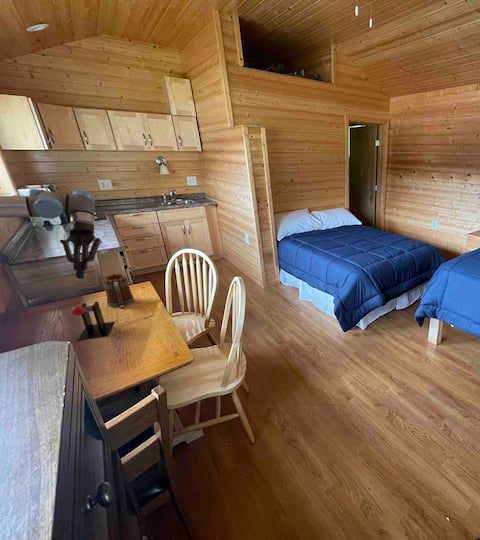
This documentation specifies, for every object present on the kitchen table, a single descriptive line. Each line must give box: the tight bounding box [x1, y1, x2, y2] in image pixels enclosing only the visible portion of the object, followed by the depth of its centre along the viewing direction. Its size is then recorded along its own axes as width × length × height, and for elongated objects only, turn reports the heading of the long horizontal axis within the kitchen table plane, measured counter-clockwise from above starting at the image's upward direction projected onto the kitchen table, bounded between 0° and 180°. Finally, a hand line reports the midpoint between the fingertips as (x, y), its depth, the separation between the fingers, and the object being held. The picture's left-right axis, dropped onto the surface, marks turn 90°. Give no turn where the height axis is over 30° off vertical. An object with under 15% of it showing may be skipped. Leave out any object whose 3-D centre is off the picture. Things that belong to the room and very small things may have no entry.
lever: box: [71, 304, 93, 316], centre depth 118 cm, size 14×4×4 cm, turn 26°
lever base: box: [76, 301, 116, 342], centre depth 125 cm, size 12×10×14 cm
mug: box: [103, 273, 135, 310], centre depth 146 cm, size 16×11×15 cm
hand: (79, 277), depth 117 cm, fingers closed
